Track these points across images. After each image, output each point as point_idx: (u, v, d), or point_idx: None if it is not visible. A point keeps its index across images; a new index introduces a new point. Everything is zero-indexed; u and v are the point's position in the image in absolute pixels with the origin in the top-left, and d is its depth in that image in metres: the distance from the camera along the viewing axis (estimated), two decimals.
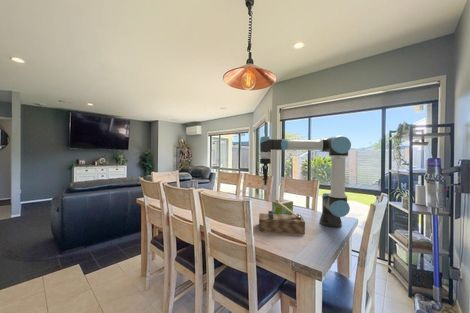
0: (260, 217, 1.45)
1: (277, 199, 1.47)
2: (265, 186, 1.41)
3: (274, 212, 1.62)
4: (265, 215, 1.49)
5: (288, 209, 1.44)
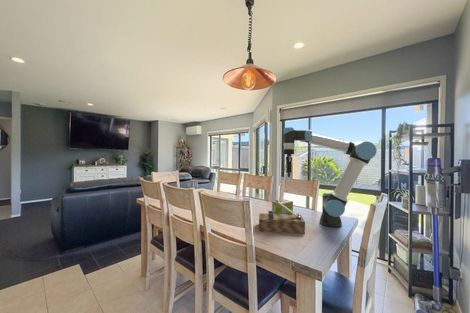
0: (260, 217, 1.45)
1: (277, 199, 1.47)
2: (288, 178, 1.50)
3: (274, 212, 1.62)
4: (265, 215, 1.49)
5: (288, 209, 1.44)
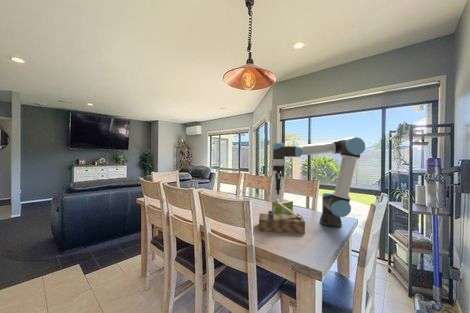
0: (260, 217, 1.45)
1: None
2: (278, 195, 1.45)
3: (274, 212, 1.62)
4: (265, 215, 1.49)
5: (288, 209, 1.44)
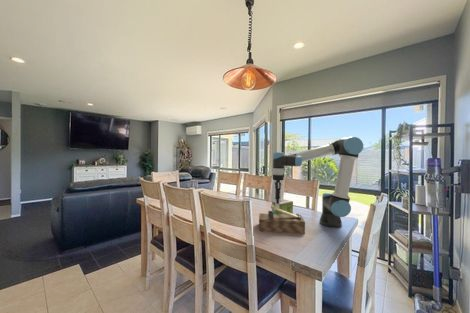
0: (260, 217, 1.45)
1: None
2: (277, 204, 1.45)
3: (274, 212, 1.62)
4: (265, 215, 1.49)
5: (286, 212, 1.44)
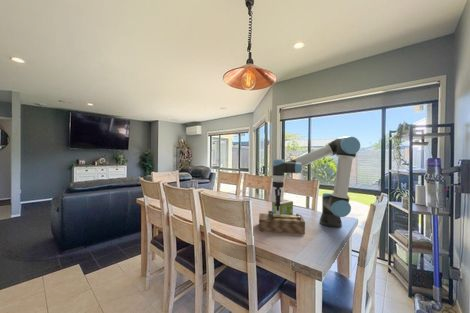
0: (260, 217, 1.45)
1: None
2: (277, 212, 1.45)
3: (274, 212, 1.62)
4: (265, 215, 1.49)
5: (285, 216, 1.44)
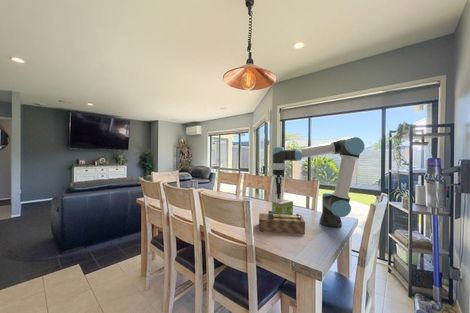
0: (260, 217, 1.45)
1: None
2: (278, 199, 1.45)
3: (274, 212, 1.62)
4: (265, 215, 1.49)
5: (285, 216, 1.44)
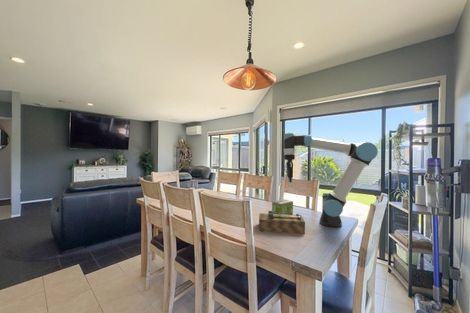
0: (260, 217, 1.45)
1: None
2: (290, 183, 1.52)
3: (274, 212, 1.62)
4: (265, 215, 1.49)
5: (285, 216, 1.44)
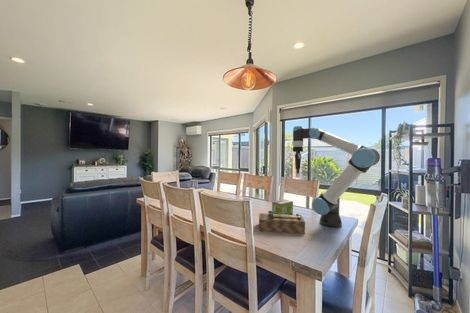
0: (260, 217, 1.45)
1: None
2: (297, 174, 1.59)
3: (274, 212, 1.62)
4: (265, 215, 1.49)
5: (285, 216, 1.44)
